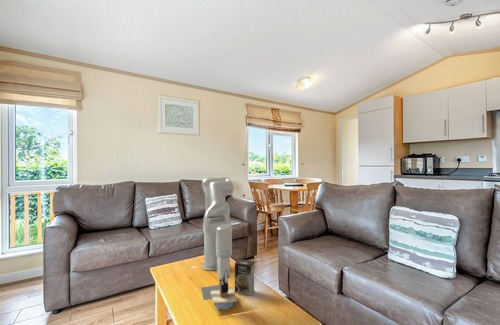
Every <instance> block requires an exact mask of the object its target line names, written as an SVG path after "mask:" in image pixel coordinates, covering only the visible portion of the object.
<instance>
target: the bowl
mask: <svg viewBox="0 0 500 325" xmlns="http://www.w3.org/2000/svg"><path fill="white" fill-rule="evenodd" d="M233 305H234V302H230V303H224V304H219V305H214V307H215V309H217V310H222V311H223V310H225V311H226V310H228V309H230V308H232V307H233Z"/></svg>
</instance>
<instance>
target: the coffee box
mask: <svg viewBox="0 0 500 325" xmlns="http://www.w3.org/2000/svg"><path fill="white" fill-rule="evenodd" d="M254 291H255V261H254V260H248V259H241V258H239V259H238V260H236V261H235V263H234V293H235V294H241V295H245V296H252V295H253V292H254Z"/></svg>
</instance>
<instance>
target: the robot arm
mask: <svg viewBox="0 0 500 325" xmlns="http://www.w3.org/2000/svg"><path fill="white" fill-rule="evenodd" d="M201 186H202V187H201V188H202V190H203V192H204V197H205V201H204V202H205V204H204V205H205V207H204V210H205V213H204V215H203V222H202V228H203V229H202V230H203V244H204V246H203V248H204V250H203V251H204V252H203V254H204V256H203V257H204V258H203V263H202V264H201V269H203V270H205V271H215V270H216V273H217V276H218V279H219V282H220V281H222V284H221V293H227V292H228V288H229V279H230V277H231V259H230V258H231V257H232V255H233V254H232V252H233V247H232V245H233V244H232V241H233V238H232V237H233V225H232V224H231V222H230V219H231V218H230V217H231V216H230V214H231V212H230V210H231V209H230V204H229V203H228V202H226V198H225V196H232V195H233V194H234V191H235V189H234V188H235V186H234V183H233V181H232V180H231V179H230V178H228V177H206V178H204V179H202V181H201ZM223 281H224V282H223Z"/></svg>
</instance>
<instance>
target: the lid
mask: <svg viewBox="0 0 500 325" xmlns="http://www.w3.org/2000/svg"><path fill="white" fill-rule="evenodd" d="M223 282H224V281H223ZM221 284H222V281H220V280H219V285H220V289H219V290H213V291H211V296H212V303H213V306H215V305H219V304H224V303H230V302H233V303H234V302H235V303H236V302H238V300H239V299H238V297H237V295H236V293H235V289H234V288H233V287H228V292H227V293H221Z"/></svg>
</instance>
